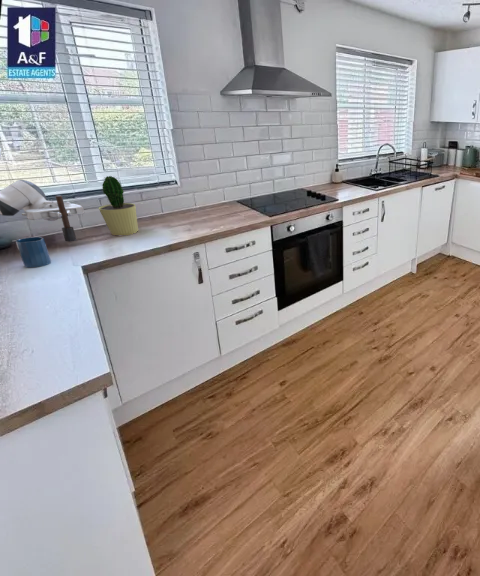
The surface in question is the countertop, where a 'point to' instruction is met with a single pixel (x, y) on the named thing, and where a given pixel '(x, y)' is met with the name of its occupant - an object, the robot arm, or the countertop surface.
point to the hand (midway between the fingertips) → (64, 214)
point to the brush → (65, 221)
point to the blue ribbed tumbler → (33, 251)
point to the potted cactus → (118, 209)
